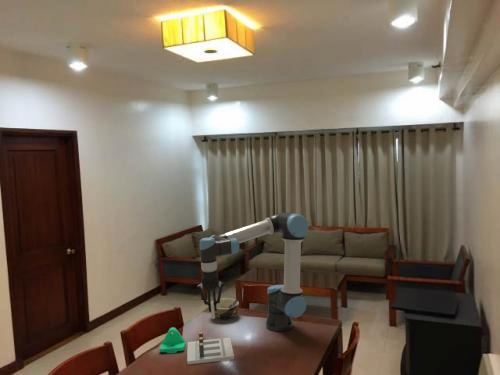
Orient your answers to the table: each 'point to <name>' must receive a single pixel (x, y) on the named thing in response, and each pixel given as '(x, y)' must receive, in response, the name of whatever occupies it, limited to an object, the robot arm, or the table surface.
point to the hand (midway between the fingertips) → (213, 317)
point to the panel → (210, 351)
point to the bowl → (226, 308)
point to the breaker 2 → (201, 349)
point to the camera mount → (172, 342)
